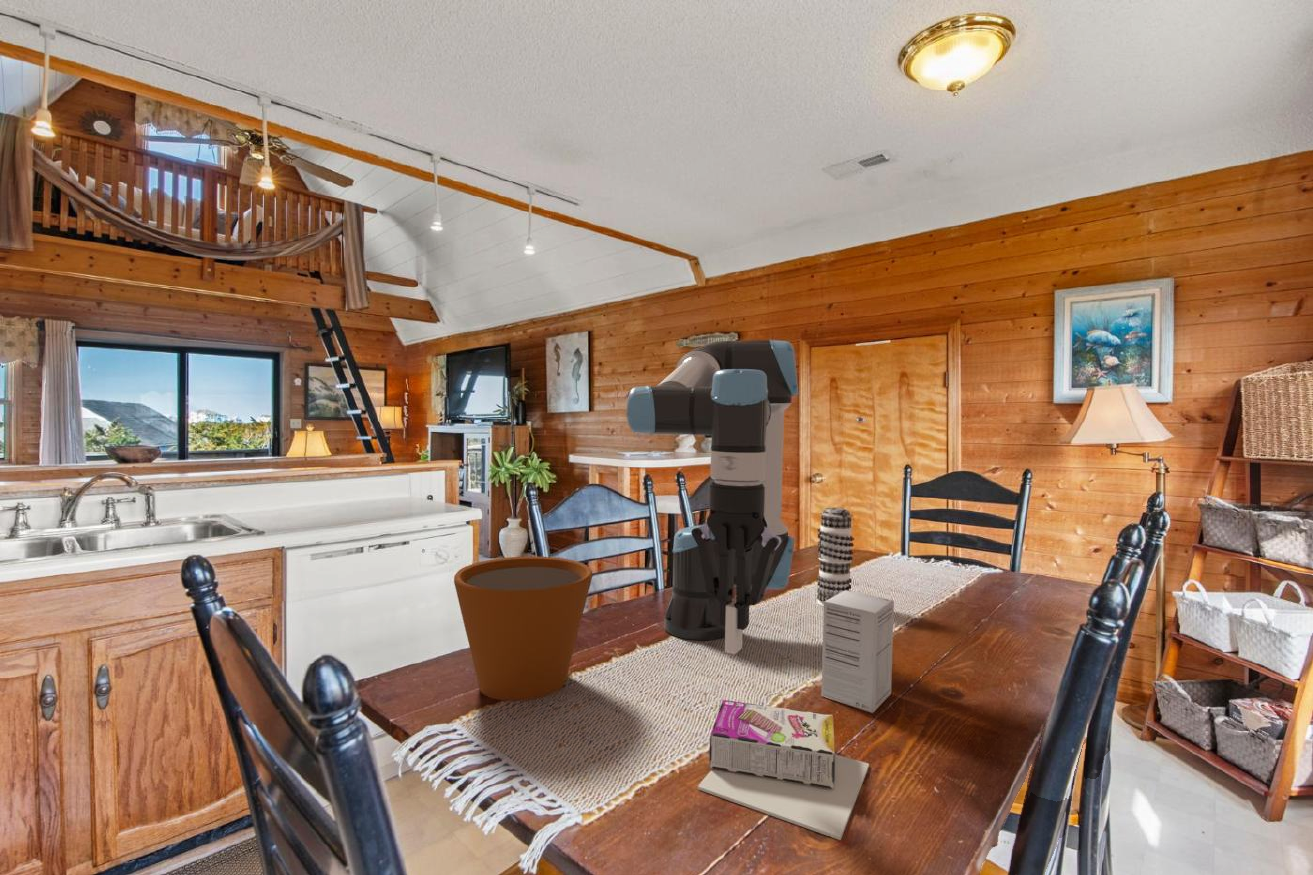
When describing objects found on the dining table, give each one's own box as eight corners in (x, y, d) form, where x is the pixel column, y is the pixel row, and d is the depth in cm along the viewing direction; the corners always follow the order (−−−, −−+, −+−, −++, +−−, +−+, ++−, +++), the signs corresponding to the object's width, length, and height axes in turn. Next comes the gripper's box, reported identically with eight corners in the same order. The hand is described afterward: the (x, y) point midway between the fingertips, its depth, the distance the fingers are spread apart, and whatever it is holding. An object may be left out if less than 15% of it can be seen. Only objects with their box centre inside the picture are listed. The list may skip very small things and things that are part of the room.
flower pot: (573, 650, 122) (575, 553, 122) (606, 702, 100) (608, 583, 100) (450, 665, 114) (451, 560, 113) (456, 726, 92) (457, 596, 91)
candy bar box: (721, 696, 91) (833, 713, 87) (720, 729, 92) (832, 747, 87) (709, 732, 81) (836, 753, 76) (708, 769, 81) (835, 792, 77)
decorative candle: (808, 600, 160) (811, 506, 159) (838, 597, 163) (841, 505, 162) (828, 611, 151) (830, 512, 150) (859, 608, 154) (862, 511, 153)
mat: (697, 789, 77) (697, 786, 77) (746, 730, 92) (746, 728, 92) (840, 840, 68) (840, 837, 68) (868, 766, 83) (868, 763, 83)
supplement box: (841, 679, 111) (844, 588, 111) (892, 694, 105) (895, 599, 105) (819, 696, 104) (822, 600, 103) (873, 714, 98) (876, 612, 97)
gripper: (682, 481, 83) (679, 649, 84) (774, 488, 76) (769, 670, 77) (706, 476, 89) (702, 632, 90) (791, 482, 83) (787, 650, 84)
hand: (733, 649), depth 84 cm, fingers closed
